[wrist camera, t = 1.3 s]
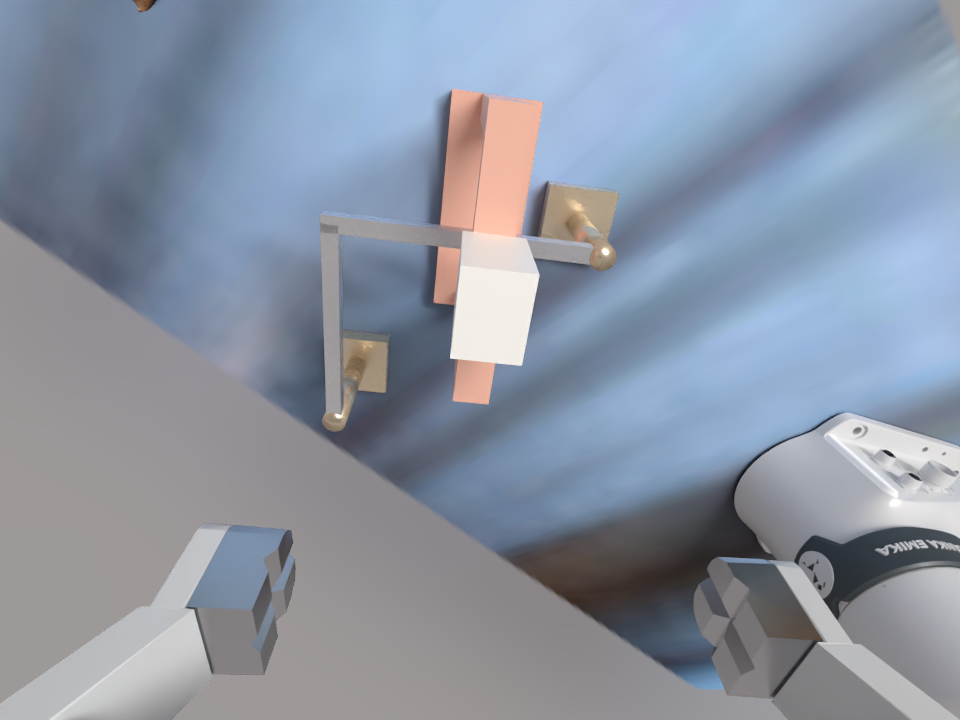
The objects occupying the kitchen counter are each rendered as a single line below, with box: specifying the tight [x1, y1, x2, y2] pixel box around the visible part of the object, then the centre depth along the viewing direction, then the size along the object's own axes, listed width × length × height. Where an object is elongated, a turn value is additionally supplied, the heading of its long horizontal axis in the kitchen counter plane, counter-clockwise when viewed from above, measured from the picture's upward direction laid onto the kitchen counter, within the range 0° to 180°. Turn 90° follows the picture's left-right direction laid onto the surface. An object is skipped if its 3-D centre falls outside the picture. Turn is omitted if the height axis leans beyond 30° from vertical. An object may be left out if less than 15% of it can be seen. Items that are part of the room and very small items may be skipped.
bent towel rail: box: [320, 181, 619, 431], centre depth 36 cm, size 21×19×10 cm
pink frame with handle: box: [434, 89, 543, 404], centre depth 28 cm, size 6×15×20 cm, turn 173°
